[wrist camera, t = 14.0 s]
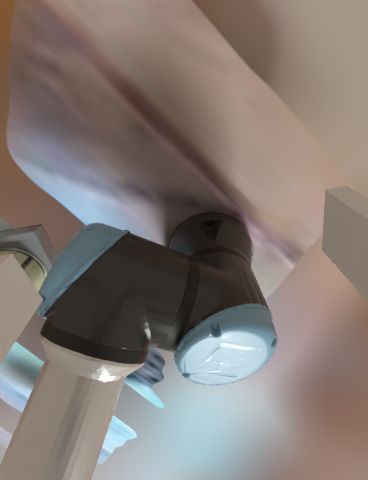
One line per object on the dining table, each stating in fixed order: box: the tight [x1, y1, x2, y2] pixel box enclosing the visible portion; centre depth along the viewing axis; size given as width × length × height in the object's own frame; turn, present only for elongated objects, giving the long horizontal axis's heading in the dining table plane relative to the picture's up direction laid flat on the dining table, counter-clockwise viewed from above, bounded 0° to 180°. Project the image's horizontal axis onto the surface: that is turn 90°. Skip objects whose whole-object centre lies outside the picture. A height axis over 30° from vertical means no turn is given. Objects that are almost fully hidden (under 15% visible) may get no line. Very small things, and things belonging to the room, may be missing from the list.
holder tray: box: [0, 224, 58, 293], centre depth 48 cm, size 16×16×3 cm
